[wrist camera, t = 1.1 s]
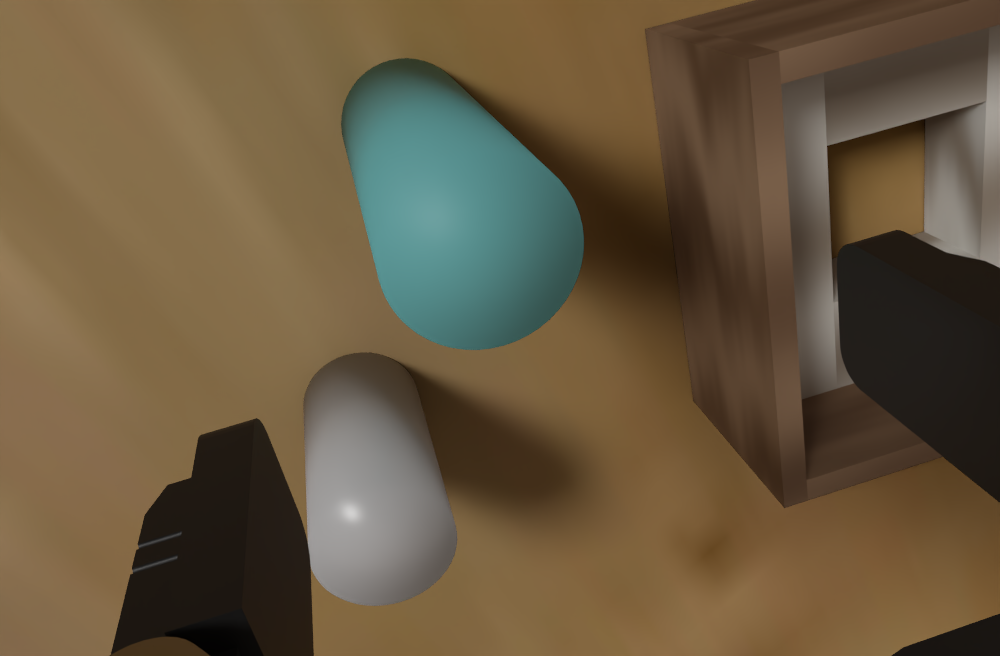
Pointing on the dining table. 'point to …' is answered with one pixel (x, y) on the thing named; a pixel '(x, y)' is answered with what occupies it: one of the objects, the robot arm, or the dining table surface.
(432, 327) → the teal peg
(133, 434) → the dining table surface
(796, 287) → the peg box
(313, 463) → the grey peg
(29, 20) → the dining table surface
